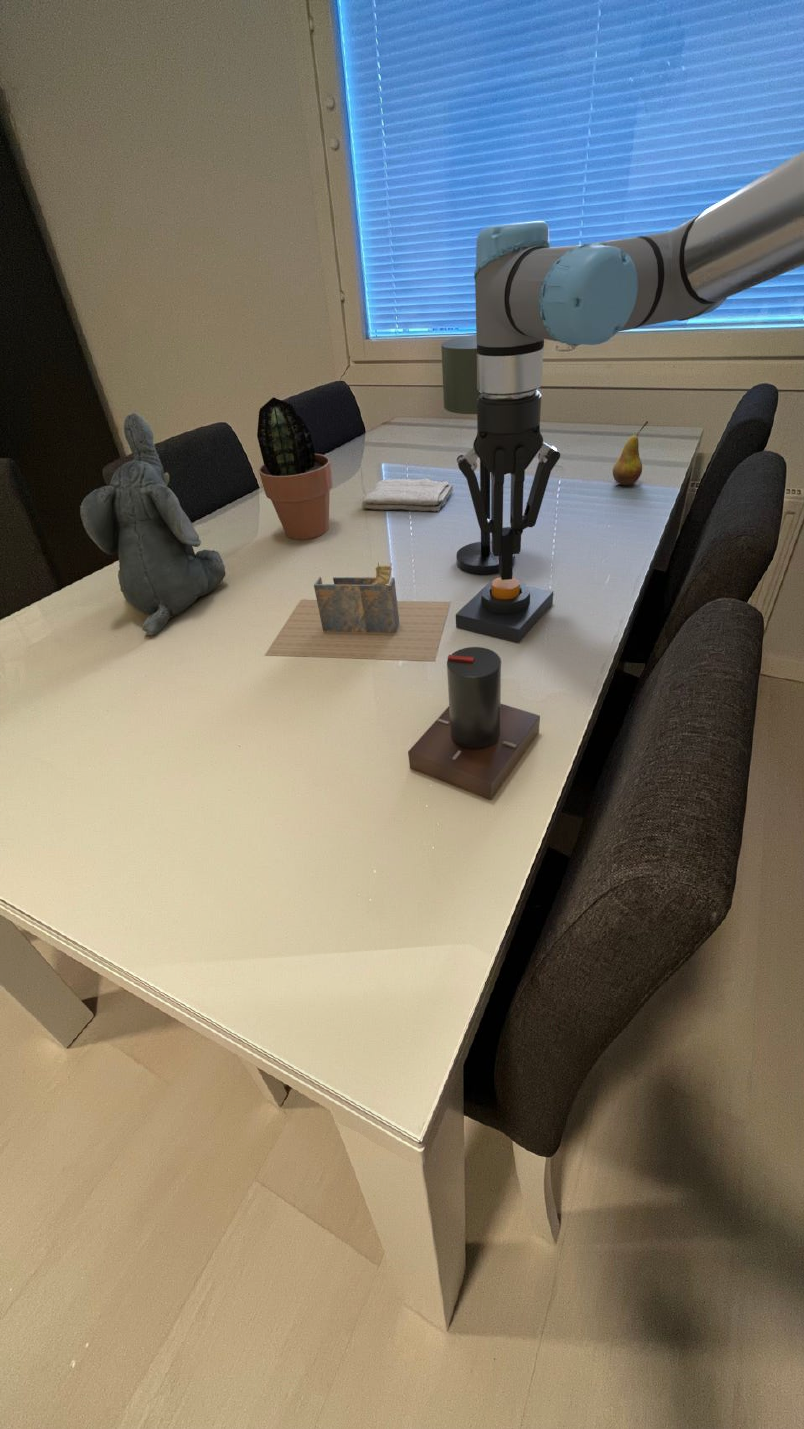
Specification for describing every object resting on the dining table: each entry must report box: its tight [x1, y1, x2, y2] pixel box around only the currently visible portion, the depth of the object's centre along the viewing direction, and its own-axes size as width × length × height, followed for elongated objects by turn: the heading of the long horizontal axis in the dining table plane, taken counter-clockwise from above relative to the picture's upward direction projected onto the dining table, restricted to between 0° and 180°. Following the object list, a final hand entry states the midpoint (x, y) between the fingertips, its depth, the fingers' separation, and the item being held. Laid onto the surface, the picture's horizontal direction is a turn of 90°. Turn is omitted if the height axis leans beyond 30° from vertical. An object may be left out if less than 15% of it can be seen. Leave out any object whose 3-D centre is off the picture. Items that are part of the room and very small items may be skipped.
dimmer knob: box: [446, 646, 502, 749], centre depth 63 cm, size 5×5×10 cm
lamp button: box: [491, 576, 521, 599], centre depth 87 cm, size 4×4×2 cm
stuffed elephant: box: [79, 412, 226, 637], centre depth 96 cm, size 19×21×27 cm
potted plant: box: [256, 396, 334, 540], centre depth 115 cm, size 14×14×25 cm
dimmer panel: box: [407, 703, 541, 801], centre depth 67 cm, size 10×12×3 cm
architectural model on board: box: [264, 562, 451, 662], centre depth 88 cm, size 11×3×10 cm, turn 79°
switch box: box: [455, 578, 555, 644], centre depth 88 cm, size 10×12×4 cm
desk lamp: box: [440, 334, 516, 576], centre depth 94 cm, size 12×12×33 cm
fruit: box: [612, 420, 649, 486], centre depth 123 cm, size 6×6×12 cm
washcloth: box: [361, 478, 454, 512], centre depth 129 cm, size 12×18×3 cm, turn 73°
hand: (505, 575), depth 86 cm, fingers closed
